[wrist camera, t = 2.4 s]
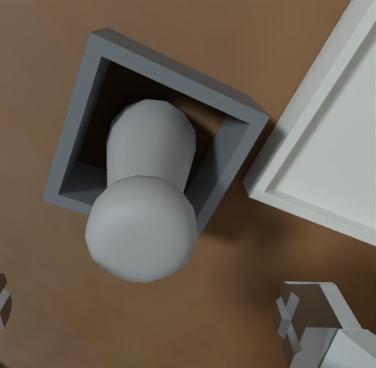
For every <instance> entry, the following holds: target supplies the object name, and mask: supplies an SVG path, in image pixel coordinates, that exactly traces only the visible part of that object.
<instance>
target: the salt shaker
mask: <svg viewBox="0 0 376 368" xmlns="http://www.w3.org/2000/svg"><path fill="white" fill-rule="evenodd" d="M195 151H196V137H195V130H194V128H193V126H192V125H191V123H190V122H189V120H188V119H187V117H186V115H185V114H184V113H183V112H182V111H180V110H179V109H177V108H176V107H174V106H173V105H171V104H170V103H168V102H167V101H159V100H151V99H145V100H142V101H138V102H135V103H132V104H129V105H127V106H126V107H125V108H124V109H123V110H122V111H121V112H120V113H119V114H118V115H117V116H116V117H115V118H114V119H113V120H112V122H111V126H110V130H109V133H108V137H107V189H106V190H105V191H104V192H103V193H102V194H101V195H100V196H99V197H98V198H97V199H96V200H95V202H94V204H93V207H92V209H91V213H90V216H89V219H88V223H87V226H86V235H85V239H86V242H87V245H88V248H89V252H90V255H91V257H92V258H93V259H94V260H95V261H96V262H97V263H98V265H99V266H100V267H101V268H102V269H103V270H104V271H105V272H107V273H109V274H111V275H114V276H116V277H119V278H121V279H124V280H126V281H133V282H151V281H154V280H157V279H161V278H164V277H168V276H171V275H172V274H174V273H175V272H176V271H178V270H179V269H180V268H182V267H183V266H184V265H186V264H187V263H188V261H189V259H190V257H191V254H192V252H193V250H194V248H195V246H196V238H197V231H196V216H195V212H194V209H193V206H192V205H191V204H190V202H189V201H188V200H187V198H186V197H185V195H184V194H183V192H184V189H185V185H186V182H187V178H188V175H189V172H190V168H191V165H192V161H193V158H194V155H195Z"/></svg>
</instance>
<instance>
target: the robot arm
mask: <svg viewBox="0 0 376 368" xmlns="http://www.w3.org/2000/svg"><path fill="white" fill-rule="evenodd" d="M6 284H7V281H6V278H5V275H4V274H2V273H0V330H2V329H3V328H4V327H5V325H6V323H7V321H8V319H9V316H10V312H11V308H12V299H11V295H10V293H9V292H8V291H6V290H5V289H4V287H5V285H6ZM279 291H280V294H281V297H280V298H279V299H277V300H276V302H275V306H274V322H275V327H276V330H277V333H278V334H279V335H280V336H281V337H282V338H283V339H284V342H283V345H282V349H283V352H284V355H285V358H286V361H287V364H288V367H289V368H376V336H375V335H374V334H373V333H371V332H370V331H369V330H367V329H362V328H361V326H360V324H359V323H358V321H357V319H356V318H355V316H354V314H353V313H352V311H351V309H350V308H349V306H348V304H347V303H346V301H345V299H344V298H343V296H342V294H341V293H340V291H339V289H338V288H337V286H336V285H335V284H334V283H333V282H291V281H284V282H283V283H282V284H281V286H280V289H279Z"/></svg>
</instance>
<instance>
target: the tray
mask: <svg viewBox="0 0 376 368" xmlns="http://www.w3.org/2000/svg"><path fill="white" fill-rule="evenodd" d="M242 183H243V185H244V187H245V189H246V192H247V194H248V196H249V197H250V198H253V199H255V200H258V201H260V202H263V203H265V204H268V205H271V206H273V207H276V208H278V209H281V210H284V211H286V212H289V213H291V214H294V215H297V216H299V217H302V218H304V219H307V220H310V221H312V222H315V223H317V224H320V225H322V226H325V227H328V228H330V229H333V230H335V231H338V232H341V233H343V234H346V235H348V236H351V237H354V238H356V239H359V240H361V241H364V242H367V243H369V244H372V245H374V246H376V0H351V1H350V3H349V5H348V6H347V8H346V10H345V11H344V13H343V15H342V16H341V18H340V20H339V21H338V23H337V25H336V26H335V28H334V29H333V31H332V33H331V34H330V36H329V38H328V39H327V41H326V43H325V44H324V46H323V48H322V49H321V51H320V53H319V54H318V56H317V58H316V59H315V61H314V62H313V64H312V66H311V67H310V69H309V71H308V72H307V74H306V76H305V77H304V79H303V81H302V82H301V84H300V86H299V87H298V89H297V91H296V92H295V94H294V96H293V97H292V99H291V100H290V102H289V104H288V105H287V107H286V109H285V110H284V112H283V114H282V115H281V117H280V119H279V120H278V122H277V124H276V125H275V127H274V129H273V130H272V132H271V134H270V135H269V137H268V138H267V140H266V142H265V143H264V145H263V147H262V148H261V150H260V152H259V153H258V155H257V157H256V158H255V160H254V162H253V163H252V165H251V167H250V168H249V170H248V171H247V173H246V175H245V176H244V178H243V180H242Z"/></svg>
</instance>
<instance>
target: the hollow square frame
mask: <svg viewBox="0 0 376 368" xmlns="http://www.w3.org/2000/svg"><path fill="white" fill-rule="evenodd" d="M110 61H113V62H116V63H118V64H120V65H122V66H124V67H127V68H129V69H131V70H133V71H135V72H137V73H140V74H142V75H144V76H146V77H148V78H151V79H153V80H155V81H157V82H159V83H162V84H164V85H166V86H168V87H170V88H173V89H175V90H177V91H179V92H181V93H184V94H186V95H188V96H190V97H192V98H194V99H197V100H199V101H201V102H203V103H205V104H208V105H210V106H212V107H214V108H216V109H219V110H221V111H223V112H225V113H227V115H226V117H225V119H224V121H223V123H222V125H221V126H220V128H219V130H218V132H217V134H216V136H215V138H214V140H213V142H212V144H211V145H210V147H209V149H208V151H207V153H206V155H205V157H204V159H203V161H202V163H201V165H200V166H199V168H198V170H197V172H196V174H195V176H194V178H193V180H192V182H191V184H190V186H189V187H188V189H187V191H186V193H185V197H186V198H187V200H188V201H189V202H190V204H191V205H192V206H193V209H194V212H195V216H196V231H197V238H196V241H197V240H198V238H199V236H200V235H201V233H202V231H203V230H204V228H205V226H206V224H207V223H208V221H209V219H210V218H211V216H212V214H213V213H214V211H215V209H216V207H217V206H218V204H219V202H220V201H221V199H222V197H223V196H224V194H225V192H226V191H227V189H228V187H229V185H230V184H231V182H232V180H233V179H234V177H235V175H236V174H237V172H238V170H239V169H240V167H241V165H242V163H243V162H244V160H245V158H246V157H247V155H248V153H249V152H250V150H251V148H252V146H253V145H254V143H255V141H256V140H257V138H258V136H259V135H260V133H261V131H262V130H263V128H264V126H265V124H266V123H267V121H268V119H269V118H270V117H269V116H268V115H267V114H266V113H265V112H264V111H263V110H262V109H261V108H260V107H259V106H258V105H257V104H256V103H255V102H254V101H253V100H252V99H251V98H250V97H249V96H248V95H246V94H244V93H242V92H240V91H238V90H236V89H234V88H231V87H229V86H227V85H225V84H223V83H221V82H219V81H217V80H215V79H213V78H211V77H209V76H207V75H204V74H202V73H200V72H198V71H196V70H194V69H192V68H190V67H188V66H186V65H184V64H182V63H180V62H178V61H175V60H173V59H171V58H169V57H167V56H165V55H163V54H161V53H159V52H157V51H155V50H153V49H151V48H148V47H146V46H144V45H142V44H140V43H138V42H136V41H134V40H132V39H130V38H128V37H126V36H124V35H122V34H119V33H117V32H115V31H113V30H111V29H109V28H104V29H100V30H96V31H93V32H90V34H89V38H88V41H87V45H86V48H85V52H84V55H83V59H82V62H81V66H80V69H79V73H78V76H77V79H76V83H75V86H74V90H73V93H72V97H71V100H70V104H69V107H68V111H67V114H66V118H65V121H64V125H63V128H62V131H61V135H60V138H59V142H58V145H57V149H56V152H55V156H54V159H53V163H52V166H51V170H50V173H49V176H48V180H47V183H46V187H45V190H44V194H43V197H42V201H44V202H47V203H51V204H54V205H57V206H60V207H63V208H66V209H69V210H72V211H76V212H79V213H82V214H85V215H88V216H90V213H91V209H92V207H93V204H94V202H95V200H96V199H97V198H98V197H99V196H100V195H101V194H102V193H103V192H104V191H105V190H106V189H107V171H106V170H103V169H101V168H98V167H95V166H92V165H89V164H87V163H84V162H81V161H78V159H79V156H80V153H81V150H82V147H83V144H84V141H85V138H86V135H87V131H88V128H89V125H90V122H91V119H92V116H93V113H94V110H95V107H96V104H97V101H98V98H99V95H100V92H101V89H102V86H103V83H104V80H105V77H106V74H107V70H108V67H109V64H110Z"/></svg>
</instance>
